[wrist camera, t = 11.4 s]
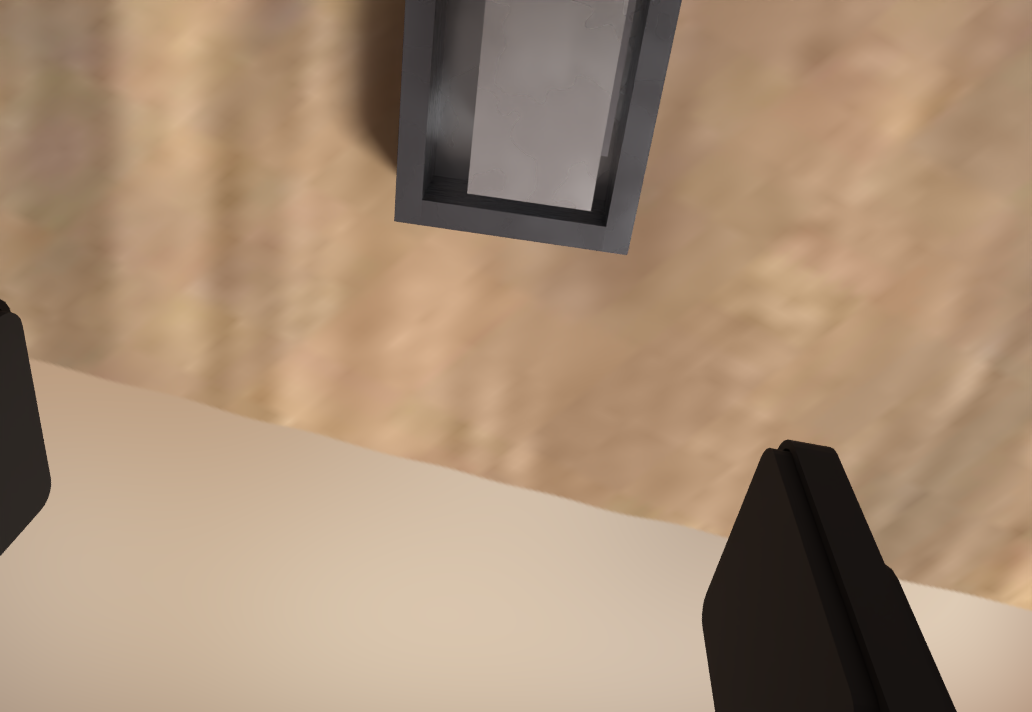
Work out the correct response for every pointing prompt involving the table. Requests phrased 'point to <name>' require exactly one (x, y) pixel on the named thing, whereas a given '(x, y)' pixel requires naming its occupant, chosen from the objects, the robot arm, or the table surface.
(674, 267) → the table surface
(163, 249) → the table surface
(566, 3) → the grey rectangular block
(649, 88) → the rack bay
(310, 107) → the table surface
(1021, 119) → the table surface
